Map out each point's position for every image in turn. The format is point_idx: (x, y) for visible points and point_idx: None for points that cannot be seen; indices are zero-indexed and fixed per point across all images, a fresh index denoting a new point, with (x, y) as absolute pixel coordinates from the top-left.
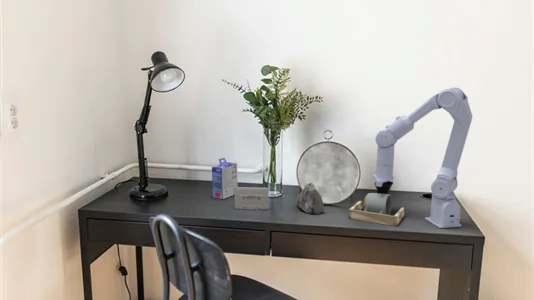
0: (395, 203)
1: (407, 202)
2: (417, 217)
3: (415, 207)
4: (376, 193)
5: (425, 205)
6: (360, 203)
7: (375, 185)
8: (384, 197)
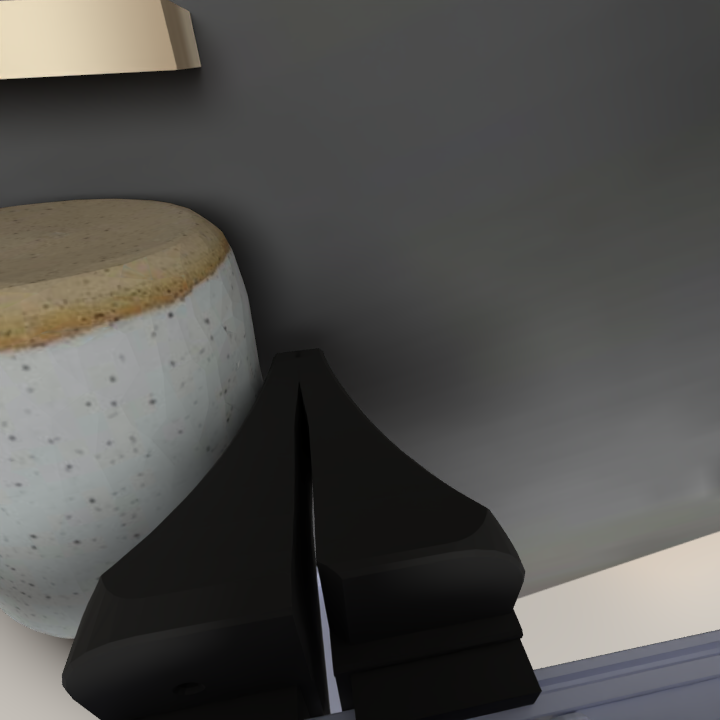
0: (605, 323)
1: (653, 383)
2: (314, 528)
3: (534, 457)
4: (55, 497)
5: (599, 478)
6: (72, 74)
7: (100, 586)
8: (5, 606)
